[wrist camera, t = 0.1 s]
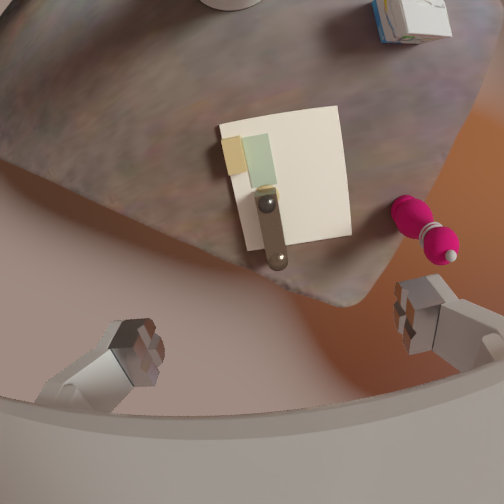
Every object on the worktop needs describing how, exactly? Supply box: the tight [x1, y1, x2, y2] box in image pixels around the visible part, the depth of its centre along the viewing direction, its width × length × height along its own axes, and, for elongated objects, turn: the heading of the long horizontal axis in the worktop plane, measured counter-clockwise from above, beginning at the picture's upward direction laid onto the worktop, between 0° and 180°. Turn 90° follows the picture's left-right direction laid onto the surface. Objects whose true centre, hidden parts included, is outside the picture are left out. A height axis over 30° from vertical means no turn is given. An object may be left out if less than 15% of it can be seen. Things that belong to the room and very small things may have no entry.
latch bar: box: [254, 187, 288, 271], centre depth 57 cm, size 14×4×5 cm, turn 11°
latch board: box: [219, 106, 352, 251], centre depth 55 cm, size 24×20×4 cm
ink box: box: [372, 0, 452, 44], centre depth 36 cm, size 9×8×12 cm
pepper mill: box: [391, 195, 459, 265], centre depth 49 cm, size 7×7×20 cm
